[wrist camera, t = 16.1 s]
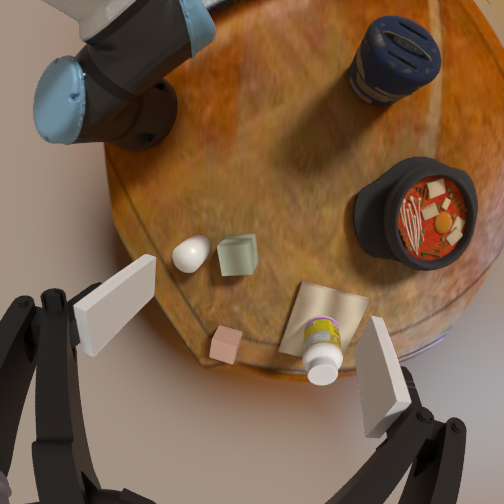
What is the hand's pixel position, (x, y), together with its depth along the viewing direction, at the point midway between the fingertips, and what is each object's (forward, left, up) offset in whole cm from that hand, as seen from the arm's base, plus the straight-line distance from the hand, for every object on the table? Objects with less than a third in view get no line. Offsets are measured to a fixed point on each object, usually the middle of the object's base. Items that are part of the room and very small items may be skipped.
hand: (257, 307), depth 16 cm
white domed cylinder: (-14, -11, -32) cm, 36 cm away
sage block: (-6, -9, -32) cm, 34 cm away
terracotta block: (-5, -29, -32) cm, 43 cm away
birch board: (+12, -20, -32) cm, 39 cm away
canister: (+9, +25, -32) cm, 42 cm away
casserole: (+22, +6, -32) cm, 39 cm away
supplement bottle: (+12, -20, -31) cm, 39 cm away
